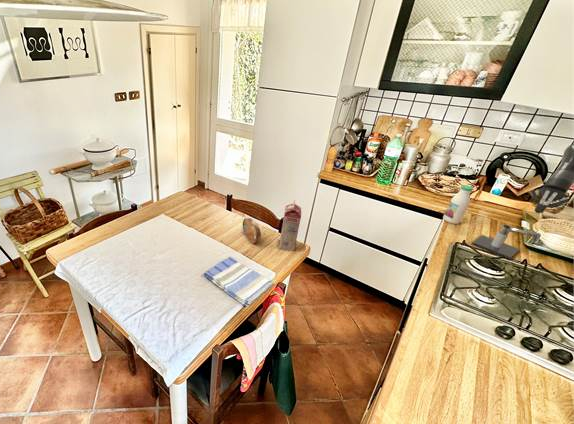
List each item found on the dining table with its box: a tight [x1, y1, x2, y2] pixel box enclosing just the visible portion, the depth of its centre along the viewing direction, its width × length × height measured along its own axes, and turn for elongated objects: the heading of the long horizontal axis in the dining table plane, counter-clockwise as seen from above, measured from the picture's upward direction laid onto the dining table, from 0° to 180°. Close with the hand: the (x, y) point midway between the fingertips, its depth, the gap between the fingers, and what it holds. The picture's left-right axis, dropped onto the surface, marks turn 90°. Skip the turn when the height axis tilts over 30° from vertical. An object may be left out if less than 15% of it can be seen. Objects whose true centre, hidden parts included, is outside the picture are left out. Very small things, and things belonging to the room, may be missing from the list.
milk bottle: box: [442, 184, 474, 225], centre depth 159 cm, size 8×8×20 cm
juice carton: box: [278, 199, 302, 252], centre depth 136 cm, size 7×7×22 cm
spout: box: [498, 224, 542, 243], centre depth 136 cm, size 14×3×4 cm, turn 64°
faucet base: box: [471, 230, 520, 260], centre depth 140 cm, size 14×12×8 cm
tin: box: [242, 217, 262, 244], centre depth 145 cm, size 15×3×8 cm, turn 16°
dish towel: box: [203, 256, 276, 308], centre depth 119 cm, size 17×24×3 cm
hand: (537, 212), depth 139 cm, fingers closed
